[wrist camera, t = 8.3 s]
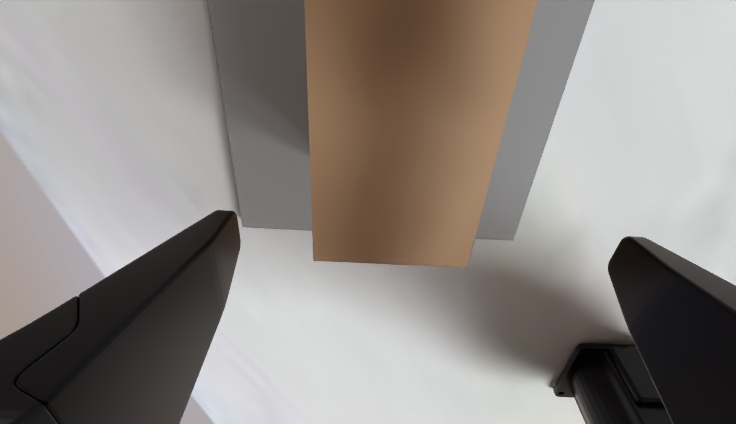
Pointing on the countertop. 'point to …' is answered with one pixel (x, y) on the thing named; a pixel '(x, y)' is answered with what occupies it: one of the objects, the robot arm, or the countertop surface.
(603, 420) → the robot arm
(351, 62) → the stool
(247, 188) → the mat
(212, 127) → the countertop surface
